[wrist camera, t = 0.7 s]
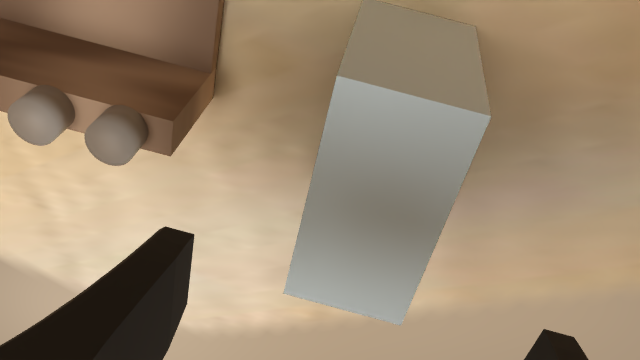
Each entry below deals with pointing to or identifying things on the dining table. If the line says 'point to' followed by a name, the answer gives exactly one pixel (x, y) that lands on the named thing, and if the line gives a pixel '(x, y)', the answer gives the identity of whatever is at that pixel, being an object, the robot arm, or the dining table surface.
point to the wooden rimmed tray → (108, 71)
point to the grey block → (389, 160)
